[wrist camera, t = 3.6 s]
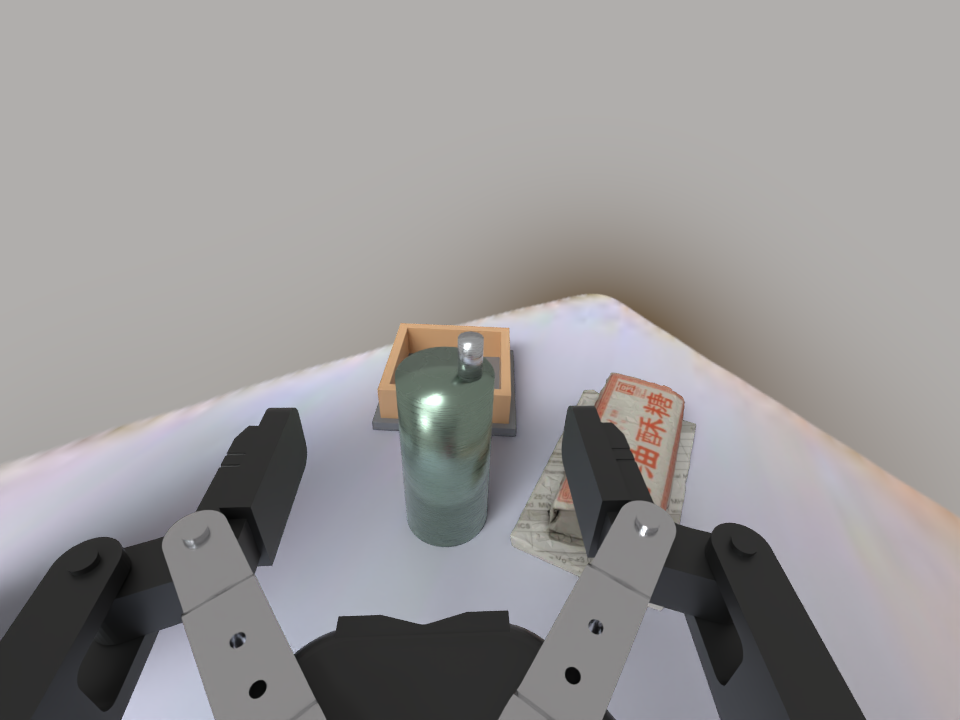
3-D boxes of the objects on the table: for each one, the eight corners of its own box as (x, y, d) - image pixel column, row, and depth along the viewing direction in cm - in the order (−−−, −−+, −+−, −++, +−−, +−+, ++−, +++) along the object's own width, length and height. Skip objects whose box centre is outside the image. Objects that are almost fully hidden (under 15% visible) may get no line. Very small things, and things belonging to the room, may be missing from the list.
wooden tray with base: (373, 429, 40) (368, 393, 38) (398, 351, 50) (395, 319, 48) (515, 436, 40) (518, 400, 38) (512, 356, 50) (515, 325, 48)
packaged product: (590, 357, 43) (709, 390, 39) (582, 400, 45) (692, 433, 42) (511, 503, 29) (683, 572, 26) (506, 551, 32) (661, 619, 28)
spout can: (400, 544, 31) (381, 364, 23) (413, 479, 36) (401, 309, 28) (485, 549, 31) (496, 369, 23) (487, 482, 36) (497, 314, 28)
